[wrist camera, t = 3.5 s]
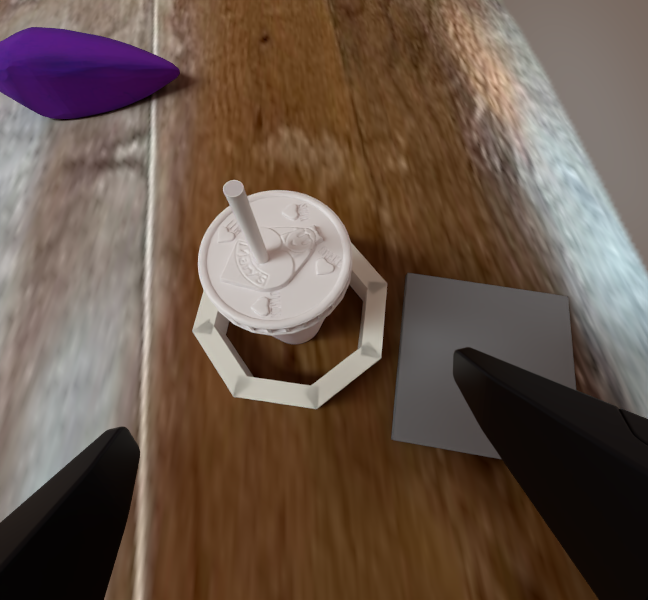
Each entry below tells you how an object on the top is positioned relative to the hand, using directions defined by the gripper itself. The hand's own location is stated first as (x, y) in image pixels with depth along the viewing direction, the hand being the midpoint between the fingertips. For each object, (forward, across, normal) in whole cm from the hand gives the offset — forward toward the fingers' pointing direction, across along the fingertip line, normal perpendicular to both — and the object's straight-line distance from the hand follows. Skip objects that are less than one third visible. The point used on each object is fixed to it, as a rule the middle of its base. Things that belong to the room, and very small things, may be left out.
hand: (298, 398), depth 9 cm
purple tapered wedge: (+30, +13, -12) cm, 35 cm away
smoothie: (+13, 0, +5) cm, 14 cm away
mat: (+9, -11, +9) cm, 17 cm away
